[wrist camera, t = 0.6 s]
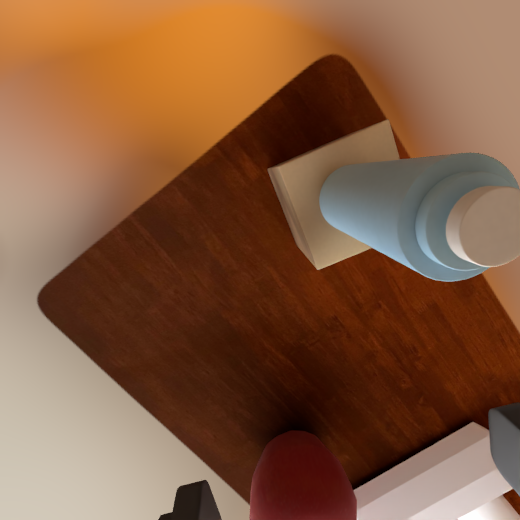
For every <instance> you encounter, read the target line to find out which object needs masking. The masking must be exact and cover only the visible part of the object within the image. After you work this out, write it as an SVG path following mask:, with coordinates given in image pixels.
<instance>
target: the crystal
mask: <svg viewBox="0 0 520 520" xmlns="http://www.w3.org/2000/svg"><path fill="white" fill-rule="evenodd" d="M511 489H513V488H512V487H511V485H510V484H509V483H508V482H507V481H506V480H505V479H504V477H503V476H502V475H501V473H500V472H499V470H498V469H497V467H496V465H495V463H494V461H493V458H492V456H491V451H490V435H489V430H487V429H486V428H484V427H482V426H481V425H479V424H477V423H475V422H472V423H470V424H468V425H466V426H465V427H463V428H461V429H460V430H458V431H456V432H454V433H453V434H451V435H449V436H447V437H446V438H444V439H442V440H440V441H439V442H437V443H435V444H433V445H432V446H430V447H428V448H426V449H425V450H423V451H421V452H420V453H418V454H416V455H414V456H413V457H411V458H409V459H407V460H406V461H404V462H402V463H400V464H399V465H397V466H395V467H393V468H392V469H390V470H388V471H386V472H385V473H383V474H381V475H379V476H378V477H376V478H374V479H373V480H371V481H369V482H367V483H366V484H364V485H362V486H360V487H359V488H357V489H355V490H353V491H354V494H355V496H356V499H357V520H457V519H458V518H460V517H462V516H464V515H466V514H468V513H469V512H471V511H473V510H475V509H477V508H479V507H480V506H482V505H484V504H486V503H488V502H490V501H491V500H493V499H495V498H497V497H499V496H500V495H502V494H504V493H506V492H508V491H510V490H511Z"/></svg>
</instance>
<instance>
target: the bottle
mask: <svg viewBox="0 0 520 520" xmlns="http://www.w3.org/2000/svg"><path fill="white" fill-rule="evenodd" d="M319 204H320V209H321V212H322V215H323V216H324V218H325V220H326V221H327V222H328V223H329V224H330V225H332V226H333V227H335V228H336V229H338V230H340V231H342V232H344V233H346V234H348V235H349V236H351V237H353V238H355V239H357V240H359V241H361V242H363V243H364V244H366V245H368V246H370V247H372V248H374V249H376V250H377V251H379V252H381V253H383V254H385V255H387V256H389V257H390V258H392V259H394V260H396V261H398V262H400V263H402V264H403V265H405V266H407V267H409V268H411V269H413V270H415V271H416V272H418V273H420V274H422V275H424V276H426V277H428V278H431V279H434V280H439V281H459V280H464V279H468V278H471V277H474V276H476V275H478V274H480V273H482V272H483V271H485V270H487V269H488V268H490V267H495V266H500V265H504V264H506V263H508V262H511V261H512V260H514V259H515V258H517V257H518V256H519V255H520V189H519V186H518V184H517V181H516V179H515V178H514V176H513V174H512V173H511V172H510V171H509V170H508V169H507V167H506V166H504V165H503V164H502V163H501V162H499V161H498V160H496V159H494V158H492V157H489V156H487V155H483V154H479V153H459V154H451V155H440V156H430V157H420V158H410V159H400V160H390V161H381V162H371V163H361V164H351V165H346V166H343V167H340V168H338V169H337V170H335V171H334V172H332V173H331V174H330V175H329V176H328V177H327V179H326V180H325V182H324V184H323V186H322V188H321V191H320V197H319Z"/></svg>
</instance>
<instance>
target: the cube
mask: <svg viewBox="0 0 520 520" xmlns="http://www.w3.org/2000/svg"><path fill="white" fill-rule="evenodd" d="M390 160H400V158H399V155H398V151H397V147H396V144H395V140H394V137H393V133H392V129H391V126H390V122H389V120H385V121H382V122H380V123H377V124H374V125H372V126H369V127H366V128H364V129H361V130H359V131H356V132H353V133H351V134H348V135H345V136H343V137H341V138H338V139H336V140H334V141H331V142H329V143H327V144H324V145H322V146H320V147H317V148H315V149H313V150H310V151H308V152H306V153H303V154H301V155H299V156H296V157H294V158H292V159H289V160H287V161H285V162H282V163H280V164H278V165H275V166H273V167H271V168H268V169H267V170H268V173H269V175H270V178H271V180H272V183H273V186H274V188H275V191H276V193H277V196H278V198H279V201H280V203H281V206H282V209H283V211H284V214H285V216H286V219H287V221H288V224H289V226H290V229H291V232H292V234H293V237H294V239H295V242H296V244H297V246H298V247H299V248H300V249H301V251H302V252H303V253H304V254H305V255H306V257H307V258H308V259H309V260H310V261H311V263H312V264H313V265H314V266H315V267H316V269H317V270H319V269H322V268H324V267H326V266H329V265H331V264H334V263H336V262H339V261H341V260H343V259H346V258H348V257H351V256H353V255H356V254H358V253H360V252H363V251H365V250H368V249H370V248H372V247H370V246H368V245H366V244H364V243H363V242H361V241H359V240H357V239H355V238H353V237H351V236H349V235H348V234H346V233H344V232H342V231H340V230H338V229H336V228H335V227H333V226H332V225H330V224H329V223H328V222H327V221H326V220H325V218H324V216H323V215H322V212H321V209H320V204H319V197H320V191H321V188H322V186H323V184H324V182H325V180H326V179H327V177H328V176H329V175H330V174H331V173H332V172H334V171H335V170H337V169H338V168H340V167H343V166H346V165H351V164H361V163H371V162H381V161H390Z"/></svg>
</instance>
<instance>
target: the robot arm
mask: <svg viewBox="0 0 520 520" xmlns="http://www.w3.org/2000/svg"><path fill="white" fill-rule="evenodd" d="M488 418H489V435H490V451H491V456H492V458H493V461H494V463H495V465H496V467H497V469H498V470H499V472H500V473H501V475H502V476H503V477H504V479H505V480H506V481H507V482H508V483H509V484H510V485H511V487H512V488H513V489H514V490H515V491H516V492H517V493H518V495H519V496H520V403H519V402H516V403H512V404H508V405H504V406H500V407H496V408H492V409H490V410H489V413H488ZM158 520H222V519H221V516H220V513H219V511H218V508H217V505H216V502H215V500H214V497H213V494H212V492H211V489H210V486H209V484H208V482H207V481H206V480H203V481H199V482H195V483H191V484H187V485H183V486H180V487H179V488H178V490H177V492H176V497H175V502H174V507H173V512H172V513H167V514H164V515H161V516H160V518H159V519H158Z"/></svg>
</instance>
